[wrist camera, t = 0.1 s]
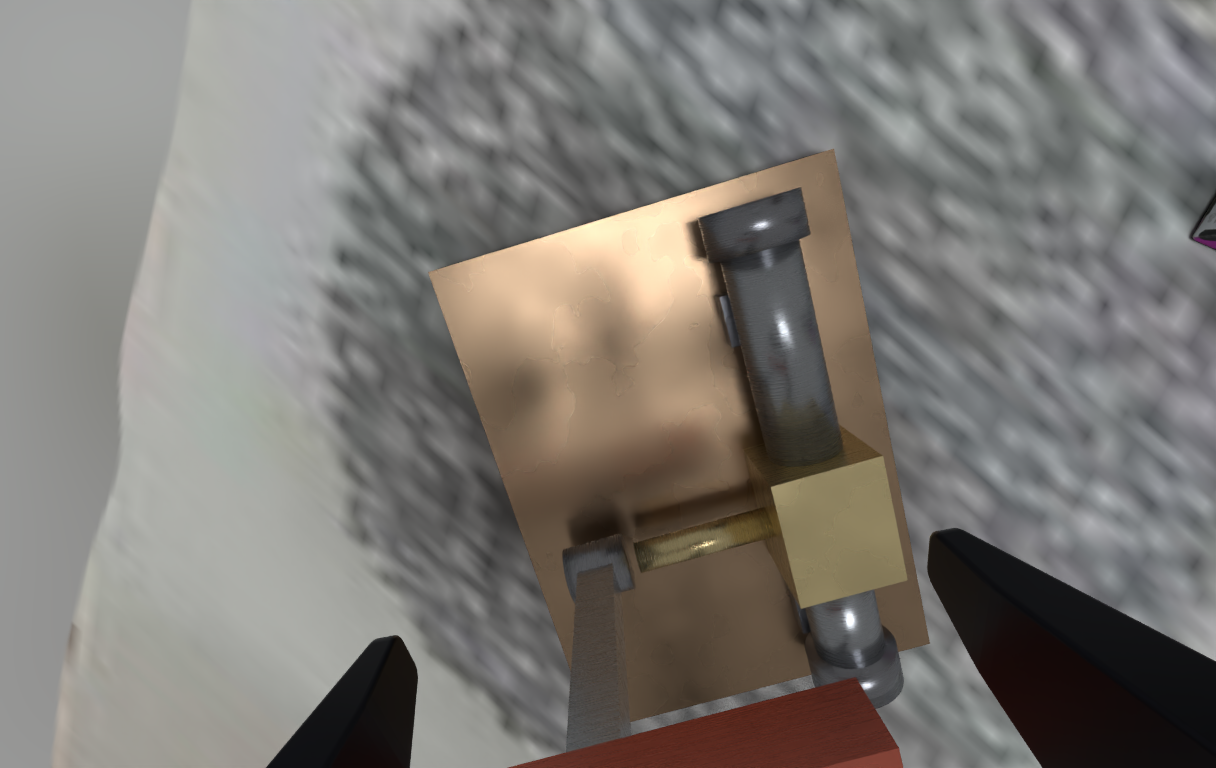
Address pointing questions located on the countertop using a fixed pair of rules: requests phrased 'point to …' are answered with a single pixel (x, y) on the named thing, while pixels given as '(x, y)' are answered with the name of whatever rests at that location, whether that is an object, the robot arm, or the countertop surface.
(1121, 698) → the robot arm
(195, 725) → the countertop surface
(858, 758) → the valve lever
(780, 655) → the valve on board
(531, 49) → the countertop surface
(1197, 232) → the candy bar box
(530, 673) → the countertop surface
